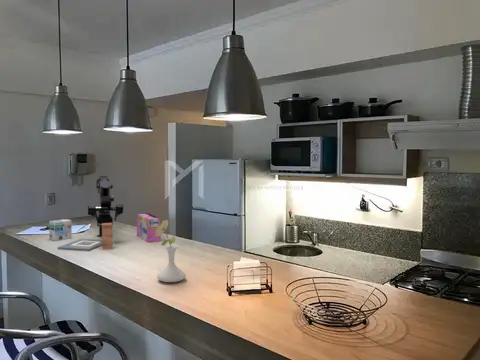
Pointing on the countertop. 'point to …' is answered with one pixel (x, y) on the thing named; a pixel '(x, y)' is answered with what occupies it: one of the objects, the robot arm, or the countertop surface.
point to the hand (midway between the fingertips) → (106, 221)
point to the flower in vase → (171, 270)
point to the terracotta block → (107, 236)
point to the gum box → (147, 227)
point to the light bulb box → (60, 229)
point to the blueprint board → (82, 245)
